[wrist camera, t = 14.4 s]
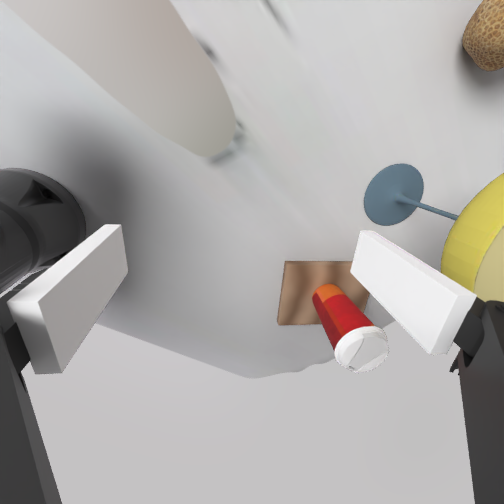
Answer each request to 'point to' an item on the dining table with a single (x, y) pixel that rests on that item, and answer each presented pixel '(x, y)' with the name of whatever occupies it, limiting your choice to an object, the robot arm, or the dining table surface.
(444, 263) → the cocktail glass
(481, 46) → the natural sponge
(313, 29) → the dining table surface
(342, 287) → the walnut board
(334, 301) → the coffee cup
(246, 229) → the dining table surface
